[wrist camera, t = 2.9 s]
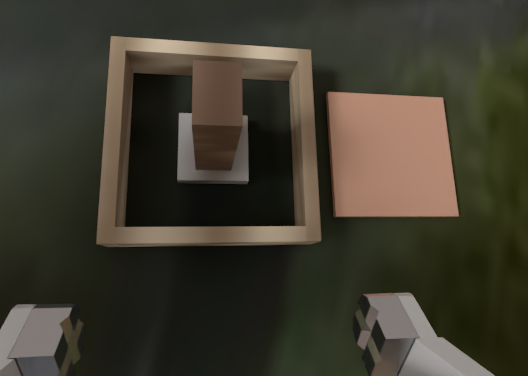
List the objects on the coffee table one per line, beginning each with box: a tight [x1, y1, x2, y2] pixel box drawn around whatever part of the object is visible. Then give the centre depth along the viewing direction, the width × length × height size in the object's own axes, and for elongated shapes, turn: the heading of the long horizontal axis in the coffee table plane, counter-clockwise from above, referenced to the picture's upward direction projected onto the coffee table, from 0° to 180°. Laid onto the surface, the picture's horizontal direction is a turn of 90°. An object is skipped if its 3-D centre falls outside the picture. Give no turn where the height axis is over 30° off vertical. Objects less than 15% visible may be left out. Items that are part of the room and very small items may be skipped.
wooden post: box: [177, 60, 249, 184], centre depth 24 cm, size 5×5×10 cm
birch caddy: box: [96, 36, 321, 247], centre depth 27 cm, size 14×14×3 cm
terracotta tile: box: [326, 92, 459, 217], centre depth 30 cm, size 10×10×1 cm
